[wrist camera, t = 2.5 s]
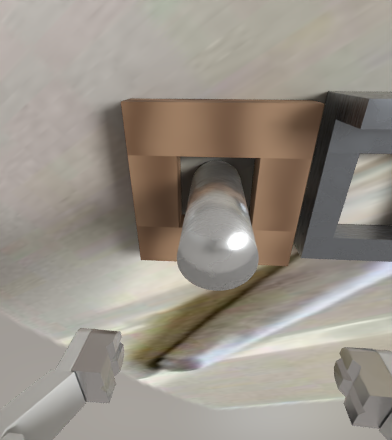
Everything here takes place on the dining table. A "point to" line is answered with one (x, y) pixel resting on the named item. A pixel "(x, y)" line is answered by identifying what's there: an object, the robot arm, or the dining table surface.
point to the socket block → (220, 147)
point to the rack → (344, 178)
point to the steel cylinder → (217, 230)
